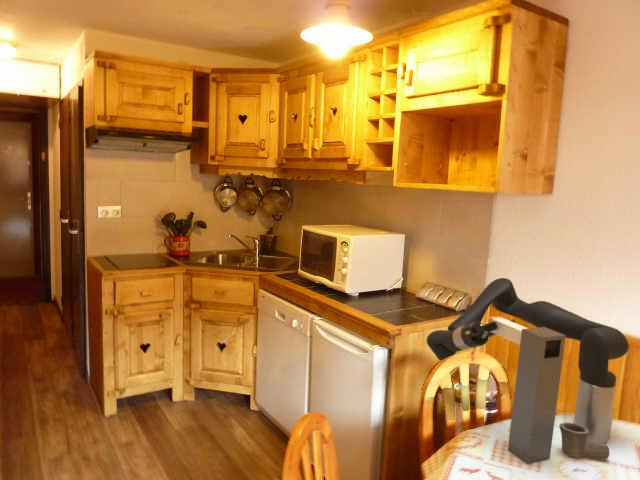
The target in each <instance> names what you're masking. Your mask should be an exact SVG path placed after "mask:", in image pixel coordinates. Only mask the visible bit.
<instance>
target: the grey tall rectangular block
mask: <svg viewBox="0 0 640 480" xmlns="http://www.w3.org/2000/svg"><path fill="white" fill-rule="evenodd" d="M526 328H527V329H522V333H521V342H520V345H519V350H518V351H519V352H518V360H517V370H516V376H515V377H516V378H515V384H514V385H515V387H514V396H513V402H512V412H511V420H510V429H509V437H508V446H507V451H508V452H510V453H511V454H512V455H513V456H515V457H516V458H517V459H519V460H521V461H522V463H525V464H526V465H530V464H534V463H540V462H545V461H549V460H550V459H551V452H552V451H551V450H552V445H553V438H554V437H553V436H554V430H555V420H556V414H557V413H556V412H557V406H558V398H559V392H560V391H559V389H560V383H561V376H562V375H561V373H562V366H563V361H564V360H563V358H564V351H565V344H566V338H565V337H566V335H564V334H561V333H559V332H556V331H553V330H551V329H548V328H546V327H539V328H537V327H526Z"/></svg>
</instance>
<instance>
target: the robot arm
mask: <svg viewBox="0 0 640 480" xmlns="http://www.w3.org/2000/svg"><path fill="white" fill-rule="evenodd" d="M491 305H492V307H493V308H494V309H495V310H497V311H498V312H501V313H503V314H505V315H509V316H512V317H515V318H517V319H520V320H521V321H523V322H526V323H527V324H531V325H532V326H534V327H535V328H539V327H546V328H548V329H551V330H553V331H556V332H559V333H561V334H564V335H566V337H565V339H566V338H567V339H571V340H576V341H578V342H579V348H578V349H579V350H578V364H577V366H578V370H579V379H578V386H577V396H576V401H575V411H574V415H573V416H574V417H573V423H574V424H578V425H581V426H583V427H585V428H586V429H588V431H589V432H588V435H587V440H586V442H587V443H595V444H605V445H606V443H607V442H608V440H610V437H611V432H612V425H613V424H612V423H613V416H614V407H613V403H614V397H615V391H616V383H617V376H616V374H614V373H613V372H612V371H610V370H609V360H610V361H612V360H616V359H619V358H622V357H624V356H625V355H626V354H627V353H628V351H629V347H630V346H629V341H628V339H627V337H626V336H625V334H623V332H621V331H620V330H618V329H617V328H616V327H611V326H608V325H606V324H602V323H598V322H595V321H592V320H589V319H586V318H585V317H582V316H580V315H578V314H576V313H574V312H571V311H569V310H567V309H564V308H563V307H560V306H558V305H556V304H553V303H551V302H550V301H549V302H548V301H544V300H538V301H534V302H533V301H532V302H530V303H528V302H526V301H524V300H522V299H520V298H519V297H518V295H517V291H516V289H515V287H514V283H513V282H512V280H511V279H509V278H505V277H500V278H496V279H494V280H493V281H491V282H489V284H488V285H487V286H486V287H485V288H484V290H482V292H481V293H480V294H479V295H478V296H477V298H476V299H475V300H474V301H473V303H472V304H471V305H470V306H469V307H468V308H467V309H466V310H465V311H464V312H463V313H462V314H461V315H459V317H457V318H456V319H455V320H454V321H452V322H451V323H450V324H449V325H448V327H447V330H446V329H437V330H435V331H432V332H430V333H429V334H428V335H427V337H426V344H427V346H428V347H429V348H430V350H431V351H432V352H433V354H434V356H435V357H436V358H437V359H438V360H439V361H440V362H442V361H441V360H443V359H445V358H447V357H449V356H452V355H454V354H455V355H456V354H457V353H458V352H461V351H465V350H471V349H475V348H477V347H482V346H484V345H486V344H487V343H488V341H489V338H494V336H497V335H496V334H494V333H492V332H490V331H493V330H496V329H498V327H497V323H496V322H491V323H489V322H488V323H489V324H488V323H486V324H485V323H482V320H483V318H484V316H485V314H486V313H487V310H488V309H489V307H490V306H491ZM510 321H511V322H514V323H516V320H514V319H512V320H510ZM455 355H454V356H455Z"/></svg>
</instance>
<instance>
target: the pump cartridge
mask: <svg viewBox="0 0 640 480" xmlns="http://www.w3.org/2000/svg"><path fill="white" fill-rule="evenodd" d="M511 321H512V320H509V319H506V318H504V317H503V316H489V317H488V323H487V324H489V323H491V322H496V323H497V327H498V329H496V330H493V331H490V332H492V333H494V334H496V335H495V336H499V337H501V338H503V339H506V340H508V341H510V342H512V343H514V344H517V345H518V346H520V342H521V333H522V329H527V328H528V327H525V326H523V325H520V324H518V323H516V322H515V323H514V322H511Z"/></svg>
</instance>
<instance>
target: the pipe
mask: <svg viewBox="0 0 640 480" xmlns="http://www.w3.org/2000/svg"><path fill="white" fill-rule="evenodd" d="M558 427H559V429H560V433H561V434H560V435H561V451H562V453H563V454H564V455H566V456H568V457H571V458H575V459H576V458H577V459H580V458H582V457H587V458H595V459H596V458H597V459H605V460H606V459H607V460H608V459H609V456H610V448H609V446H608V445H607V444H606V443H605V444H595V443H589V442H586V440H587V435H588V432H589V431H588V429H586V428H585V427H583V426H581V425H578V424H574V422H568V421H567V422H565V421H564V422H562V423H559V426H558Z"/></svg>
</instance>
